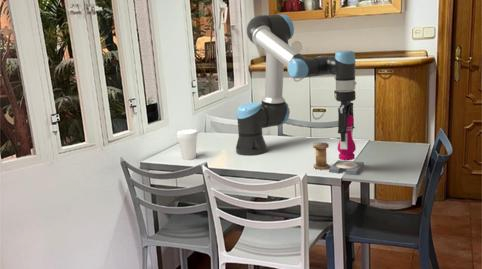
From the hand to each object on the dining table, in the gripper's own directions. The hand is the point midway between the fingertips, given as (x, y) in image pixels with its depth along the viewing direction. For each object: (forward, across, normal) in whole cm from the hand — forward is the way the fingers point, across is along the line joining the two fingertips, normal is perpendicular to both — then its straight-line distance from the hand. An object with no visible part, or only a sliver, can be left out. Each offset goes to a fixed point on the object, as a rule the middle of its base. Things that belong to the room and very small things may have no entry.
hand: (346, 146), depth 188 cm
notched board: (+10, 0, 0) cm, 10 cm away
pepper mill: (+5, 0, 0) cm, 5 cm away
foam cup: (+10, -4, +76) cm, 76 cm away
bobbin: (+10, -1, +10) cm, 14 cm away
